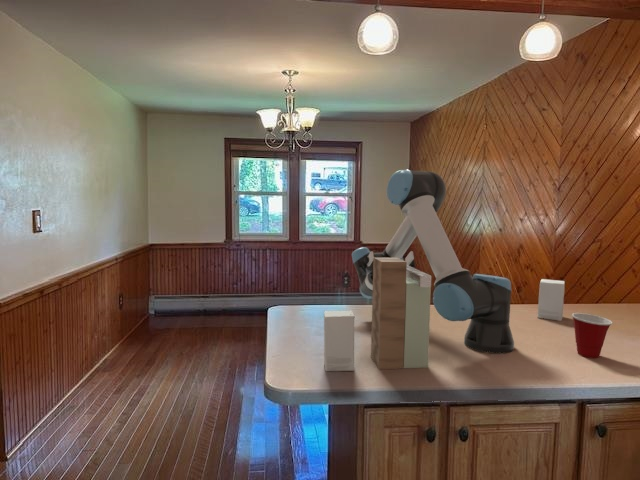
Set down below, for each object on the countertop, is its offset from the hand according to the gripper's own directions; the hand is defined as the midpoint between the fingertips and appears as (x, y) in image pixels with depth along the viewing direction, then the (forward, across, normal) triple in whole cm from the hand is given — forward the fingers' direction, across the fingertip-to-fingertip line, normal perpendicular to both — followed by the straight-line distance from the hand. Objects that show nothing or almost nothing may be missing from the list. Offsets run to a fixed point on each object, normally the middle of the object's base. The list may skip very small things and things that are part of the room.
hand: (392, 254), depth 148 cm
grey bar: (+13, 0, -13) cm, 19 cm away
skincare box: (+5, +22, -36) cm, 43 cm away
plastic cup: (+2, -58, -35) cm, 67 cm away
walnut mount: (+3, +7, -35) cm, 36 cm away
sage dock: (+3, 0, -35) cm, 35 cm away
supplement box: (-35, -74, -13) cm, 83 cm away
